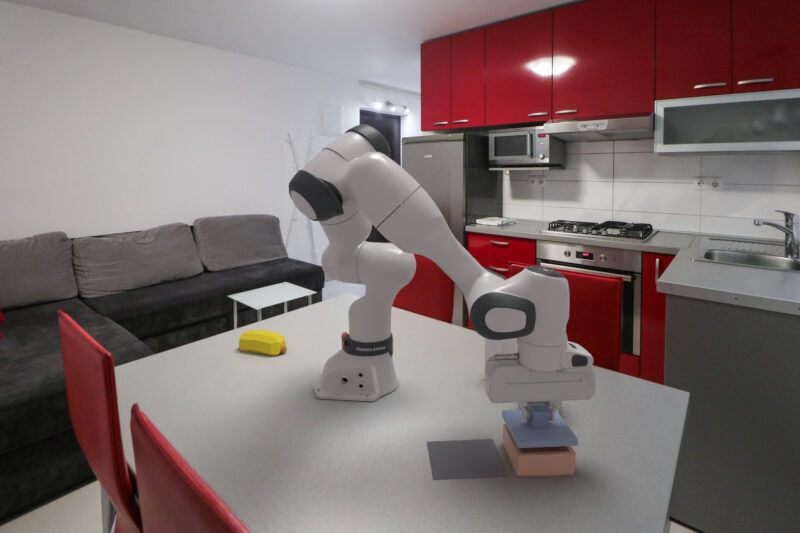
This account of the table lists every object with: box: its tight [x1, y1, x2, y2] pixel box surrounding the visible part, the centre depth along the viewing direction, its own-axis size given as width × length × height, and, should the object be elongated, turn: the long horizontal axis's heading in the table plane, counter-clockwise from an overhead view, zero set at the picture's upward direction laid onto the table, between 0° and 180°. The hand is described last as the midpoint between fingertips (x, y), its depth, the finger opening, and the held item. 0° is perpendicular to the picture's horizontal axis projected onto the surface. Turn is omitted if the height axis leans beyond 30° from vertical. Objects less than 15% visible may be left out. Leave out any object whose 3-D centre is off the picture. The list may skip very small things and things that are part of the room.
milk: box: [484, 338, 518, 380], centre depth 120 cm, size 6×6×22 cm
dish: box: [502, 423, 577, 478], centre depth 88 cm, size 11×11×5 cm
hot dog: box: [238, 329, 288, 357], centre depth 145 cm, size 18×7×8 cm
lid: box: [501, 403, 579, 448], centre depth 86 cm, size 11×11×5 cm
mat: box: [426, 438, 509, 481], centre depth 89 cm, size 14×12×1 cm
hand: (537, 419), depth 86 cm, fingers closed on lid, 3 cm apart
